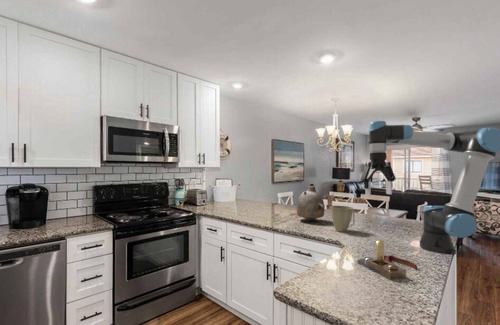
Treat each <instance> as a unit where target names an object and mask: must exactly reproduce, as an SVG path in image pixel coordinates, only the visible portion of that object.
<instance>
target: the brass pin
mask: <svg viewBox="0 0 500 325" xmlns="http://www.w3.org/2000/svg"><path fill="white" fill-rule="evenodd" d="M375 245H376V248H375V249H376V250H375V259H376V264H378V265H384V253H385V241H384V240H382V239H381V240H380V239H377V240H375Z"/></svg>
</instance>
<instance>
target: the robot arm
mask: <svg viewBox="0 0 500 325" xmlns="http://www.w3.org/2000/svg"><path fill="white" fill-rule="evenodd" d="M368 133H369V152H370V153H369V161H366V162H365V167H364V169H363V172H362V173H361V174H362V175H361V177H360V181H361V182H363V183H364V184H363V185H364V186H363V188H364V189H365V190H364V191H365V194H364V195H365V196H372V194H371V193H372V192H371V188H372V187H371V185H372V184H371V182H370V181H371V179H372V177H373V176H374V174H375V173H376V172H381V173H382V175H383V176H384V177H385V179H386V181H385V188H386V189H385V190H386V192H385V194H386V195H393V182H395V180H396V179H397V178H396V176H395V173H394V171H393V168H392V165H391V162H390V161H386V160H387V144H398V145H408V146H409V145H410V146H419V147H420V146H421V147H429V148H430V147H431V148H439V149H440V148H441V149H443V150H444V151H450V152H457V153H463V155H464V156H465V159H464V162H463V164H462V168H461V169H460V172H459V176H458V179H457V182H456V184H455V187H454V190H453V194H452V196H451V198H450V201H449V202H448V203H445V204H444V205H424V206H423V210H422V211H423V212H422V213H423V214H422V215H423V232H422V235H421V238H420V241H419V247H420V248H421V249H423V250H426V251H429V252H434V253H435V252H436V253H440V254H452V253H455V245H454V243H453V240H452V238H451V237H455V238H459V239H464V238H468V237H471V236H472V235H474V233H475V232H476V231H477V228H478V222H476V221H477V220H476V218H474V217H475V214H476V212H475V211H474V210H473V207H474V204H475V201H476V198H477V196H478V194H479V193H478V192H479V191H480V187H481V184H482V181H483V179H484V176H485V173H486V170H487V167H488V165H489V162H490V161H491V160H492V161H493V160H494V159H495V157H496V154H497V153H499V152H500V129H499V128H496V127H482V128H477V129H473V130H467V131H460V132H447V133H440V132H427V131H418V130H416V131H415V130H414V129H413V126H412V125H410V124H393V125H392V124H391V125H390V124H389V125H388V124H387V122H386V121H385V120H374V121H371V122H370V123H369V129H368Z"/></svg>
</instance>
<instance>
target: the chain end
mask: <svg viewBox="0 0 500 325" xmlns="http://www.w3.org/2000/svg"><path fill="white" fill-rule="evenodd" d="M371 259H374V258H373V257H371V256H365V257H363V258H360V259H357V264H359V265H361V266H362V265H363V266H362V267H365V268H366V269H368V270H370V271H372V272H374V273H376V274H378V275H380V271H379V270H377V269H375V268H373V267H371V266H369V265H367V264H366V260H371Z"/></svg>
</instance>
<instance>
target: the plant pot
mask: <svg viewBox="0 0 500 325" xmlns="http://www.w3.org/2000/svg"><path fill="white" fill-rule="evenodd" d="M353 212H354V207H352V206H348V205H347V206H346V205H331V206H330V216H331V220H332V223H333V227H334V229H335V231H337V232H341V233H342V232H347V231H348V229H349V226H350V223H351V220H352V217H353Z"/></svg>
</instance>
